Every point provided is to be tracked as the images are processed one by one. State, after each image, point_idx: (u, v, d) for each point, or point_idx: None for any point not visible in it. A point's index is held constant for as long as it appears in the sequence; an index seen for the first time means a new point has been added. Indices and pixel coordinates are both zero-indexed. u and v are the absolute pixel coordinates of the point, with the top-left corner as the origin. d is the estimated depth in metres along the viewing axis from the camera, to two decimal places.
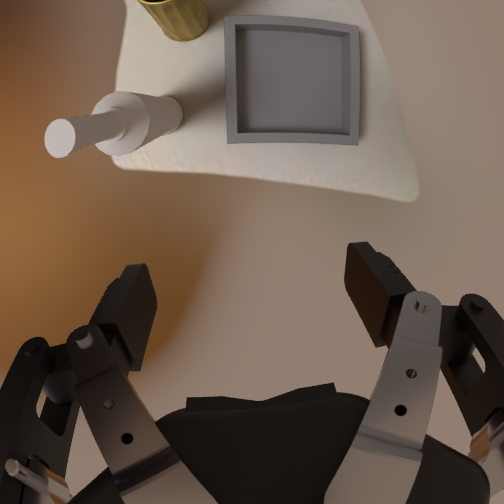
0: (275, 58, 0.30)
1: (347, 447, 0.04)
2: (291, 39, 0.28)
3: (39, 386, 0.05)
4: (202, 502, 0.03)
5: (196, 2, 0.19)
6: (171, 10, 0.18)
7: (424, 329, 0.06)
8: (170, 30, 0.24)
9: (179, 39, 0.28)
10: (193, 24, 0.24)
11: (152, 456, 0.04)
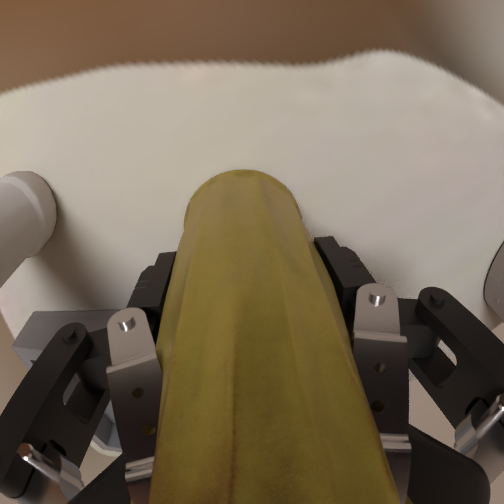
0: None
1: None
2: None
3: (70, 374, 0.06)
4: None
5: None
6: None
7: (383, 321, 0.07)
8: None
9: (184, 228, 0.14)
10: None
11: (152, 456, 0.04)
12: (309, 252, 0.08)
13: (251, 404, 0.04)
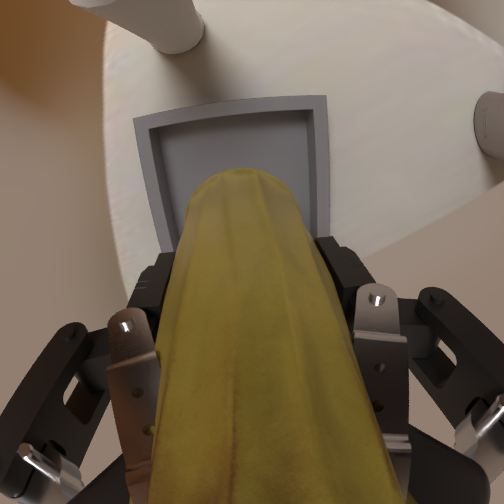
0: (266, 162, 0.26)
1: None
2: (297, 180, 0.27)
3: (70, 374, 0.06)
4: None
5: None
6: None
7: (383, 321, 0.07)
8: None
9: (184, 226, 0.14)
10: None
11: None
12: (309, 249, 0.08)
13: (252, 401, 0.04)
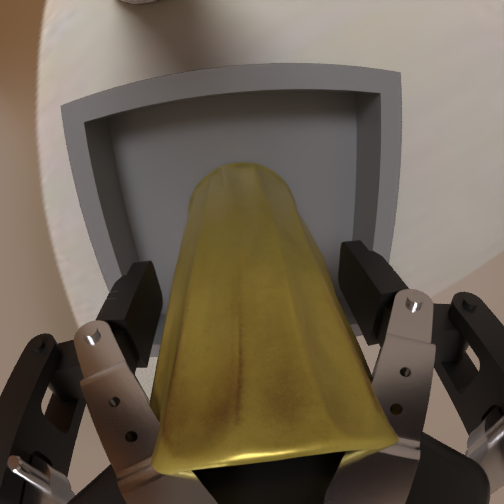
0: (289, 180, 0.16)
1: None
2: (337, 209, 0.17)
3: (45, 383, 0.06)
4: (202, 502, 0.03)
5: None
6: None
7: (416, 327, 0.06)
8: None
9: (188, 215, 0.15)
10: None
11: None
12: (302, 229, 0.09)
13: (254, 332, 0.05)
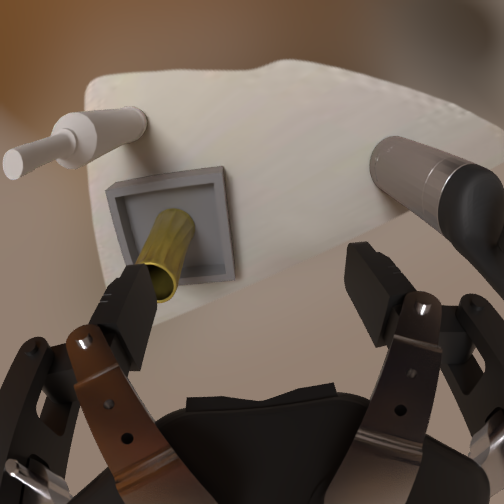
0: (191, 214, 0.41)
1: (347, 447, 0.04)
2: (212, 224, 0.42)
3: (39, 386, 0.05)
4: (202, 502, 0.03)
5: None
6: None
7: (424, 329, 0.06)
8: None
9: None
10: None
11: (152, 456, 0.04)
12: (175, 234, 0.34)
13: (150, 251, 0.30)
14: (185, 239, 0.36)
